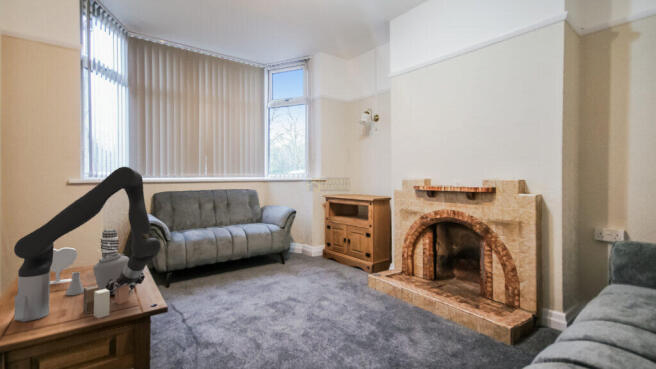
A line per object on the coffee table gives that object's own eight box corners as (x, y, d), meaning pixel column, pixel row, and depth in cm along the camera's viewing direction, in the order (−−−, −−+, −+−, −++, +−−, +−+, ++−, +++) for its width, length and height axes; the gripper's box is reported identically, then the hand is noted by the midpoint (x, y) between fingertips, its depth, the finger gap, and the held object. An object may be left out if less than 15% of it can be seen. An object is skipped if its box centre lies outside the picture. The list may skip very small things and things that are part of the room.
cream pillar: (109, 314, 126) (109, 290, 126) (97, 318, 123) (98, 293, 123) (105, 312, 128) (105, 288, 128) (93, 315, 125) (94, 291, 125)
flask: (73, 296, 145) (74, 275, 145) (61, 295, 146) (62, 274, 146) (88, 291, 152) (89, 271, 152) (76, 290, 153) (77, 270, 153)
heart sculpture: (37, 286, 157) (38, 251, 157) (37, 283, 161) (38, 249, 160) (76, 280, 168) (77, 247, 168) (75, 278, 171) (76, 246, 171)
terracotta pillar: (128, 301, 140) (128, 279, 140) (118, 304, 137) (119, 282, 137) (124, 299, 143) (125, 278, 143) (114, 302, 139) (115, 280, 139)
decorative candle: (95, 271, 184) (96, 230, 184) (109, 267, 193) (110, 228, 193) (108, 272, 183) (109, 230, 183) (121, 268, 192) (122, 228, 192)
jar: (85, 301, 139) (86, 246, 139) (89, 291, 152) (90, 241, 152) (134, 294, 149) (135, 243, 149) (134, 285, 162) (135, 238, 162)
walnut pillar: (98, 310, 130) (98, 287, 130) (86, 314, 126) (87, 289, 126) (94, 308, 132) (95, 285, 132) (83, 311, 129) (83, 287, 129)
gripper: (147, 260, 141) (134, 280, 148) (111, 266, 130) (100, 288, 136) (152, 273, 138) (139, 293, 145) (116, 281, 127) (104, 302, 133)
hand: (120, 290), depth 141 cm, fingers open, 8 cm apart
